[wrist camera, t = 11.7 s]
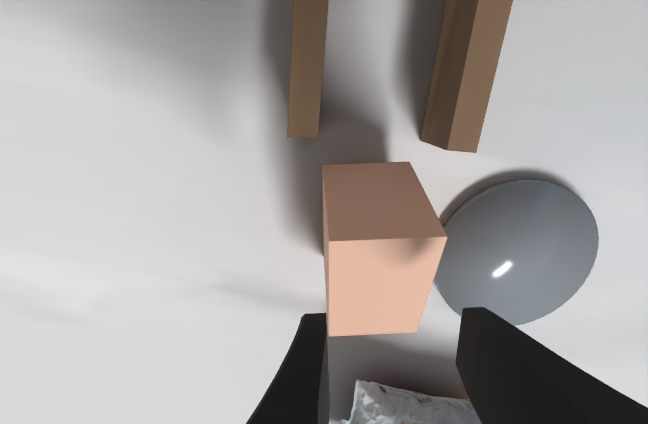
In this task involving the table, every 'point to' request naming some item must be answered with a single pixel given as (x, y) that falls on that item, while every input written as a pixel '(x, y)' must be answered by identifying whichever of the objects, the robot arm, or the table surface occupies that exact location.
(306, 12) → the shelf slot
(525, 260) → the coaster
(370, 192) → the block
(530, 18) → the table surface
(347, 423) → the packaged food
